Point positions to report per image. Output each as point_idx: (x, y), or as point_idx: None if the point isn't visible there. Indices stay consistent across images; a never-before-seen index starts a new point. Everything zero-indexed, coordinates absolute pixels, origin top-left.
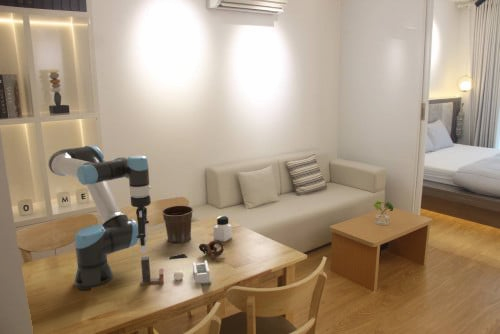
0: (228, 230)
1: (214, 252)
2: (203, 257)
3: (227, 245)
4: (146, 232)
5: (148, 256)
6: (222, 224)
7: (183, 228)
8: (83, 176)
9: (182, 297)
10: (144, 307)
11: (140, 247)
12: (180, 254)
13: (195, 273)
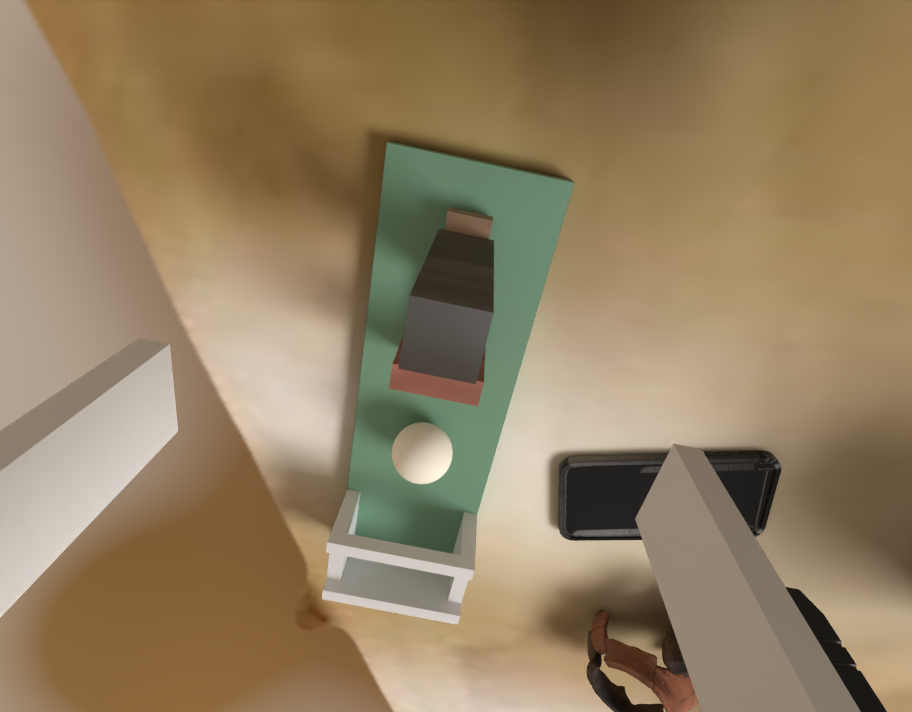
0: None
1: (597, 661)
2: (650, 591)
3: None
4: (678, 609)
5: (472, 379)
6: None
7: None
8: None
9: (253, 401)
10: (186, 185)
11: (66, 403)
12: (766, 519)
13: (328, 540)
